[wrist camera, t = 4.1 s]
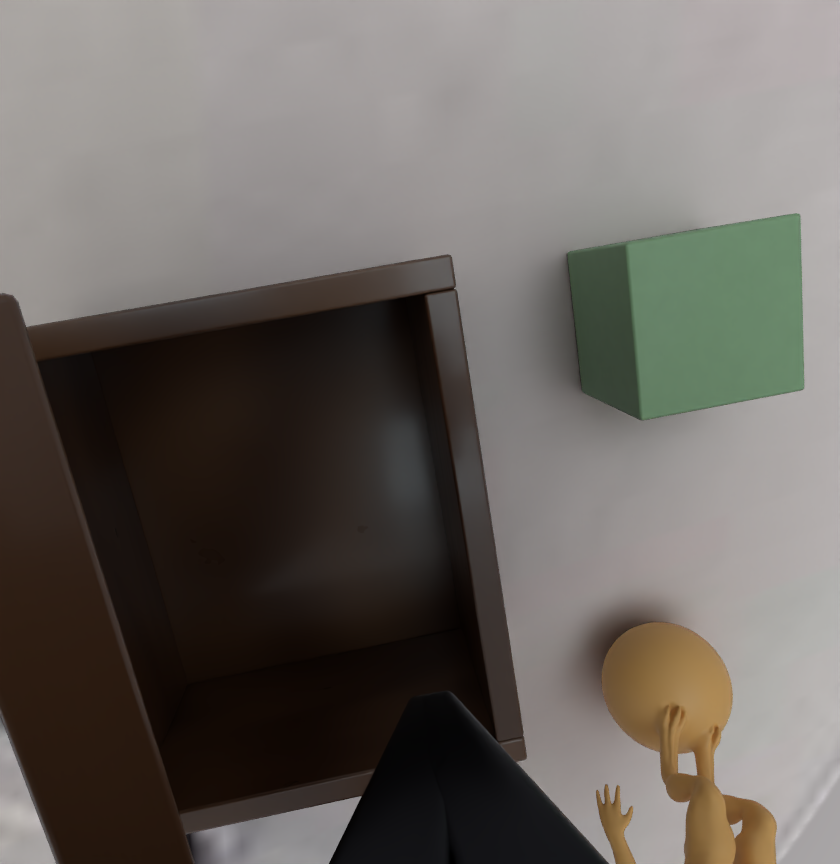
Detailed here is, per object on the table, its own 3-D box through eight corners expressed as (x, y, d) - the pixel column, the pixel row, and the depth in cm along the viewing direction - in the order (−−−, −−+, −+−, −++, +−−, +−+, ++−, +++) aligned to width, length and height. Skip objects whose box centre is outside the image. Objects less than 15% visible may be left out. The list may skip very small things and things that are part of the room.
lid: (16, 290, 3) (-153, 314, 3) (410, 1550, 6) (353, 1645, 6) (-63, 341, 12) (-108, 349, 12) (117, 857, 15) (86, 877, 15)
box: (421, 263, 19) (451, 253, 13) (481, 630, 22) (528, 761, 16) (68, 324, 18) (-72, 343, 12) (178, 692, 21) (109, 852, 15)
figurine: (759, 655, 23) (1159, 1026, 12) (665, 781, 24) (951, 1243, 13) (574, 554, 22) (828, 870, 10) (482, 694, 23) (616, 1132, 11)
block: (712, 368, 21) (806, 390, 16) (581, 392, 20) (640, 421, 16) (704, 227, 20) (802, 212, 15) (566, 251, 19) (625, 242, 15)
